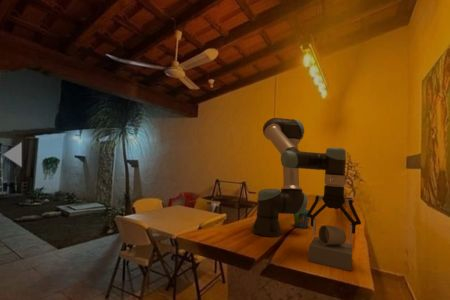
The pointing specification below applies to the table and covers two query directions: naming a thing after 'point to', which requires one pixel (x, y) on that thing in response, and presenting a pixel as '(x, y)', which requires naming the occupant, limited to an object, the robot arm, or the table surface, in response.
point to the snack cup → (301, 219)
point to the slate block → (331, 254)
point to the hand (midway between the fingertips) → (331, 237)
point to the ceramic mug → (331, 235)
